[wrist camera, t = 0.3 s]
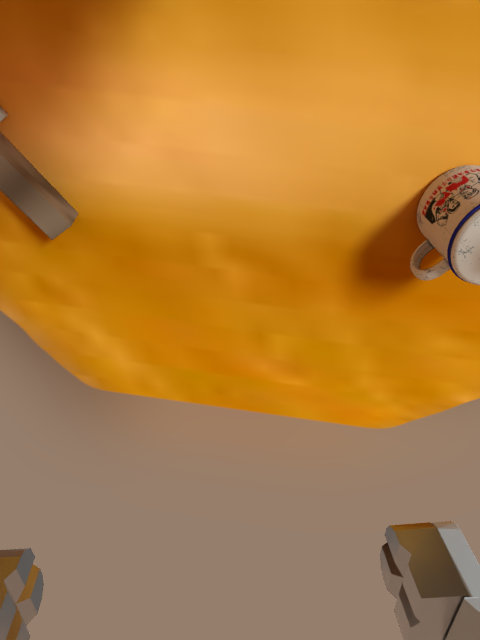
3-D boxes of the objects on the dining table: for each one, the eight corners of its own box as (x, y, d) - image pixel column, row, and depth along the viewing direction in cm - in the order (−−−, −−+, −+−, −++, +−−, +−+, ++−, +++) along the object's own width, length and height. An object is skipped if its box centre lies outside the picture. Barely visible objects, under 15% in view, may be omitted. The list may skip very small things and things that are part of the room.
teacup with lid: (476, 141, 43) (552, 182, 33) (514, 204, 47) (591, 257, 38) (373, 223, 47) (414, 280, 38) (416, 274, 51) (463, 337, 42)
